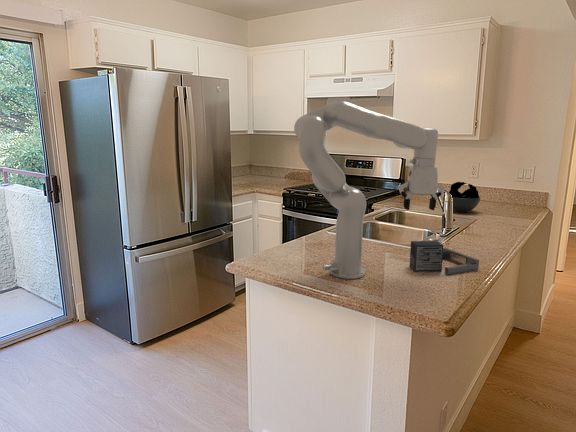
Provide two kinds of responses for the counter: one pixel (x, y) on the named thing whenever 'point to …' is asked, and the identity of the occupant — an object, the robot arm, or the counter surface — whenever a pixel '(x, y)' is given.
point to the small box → (426, 256)
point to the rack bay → (459, 262)
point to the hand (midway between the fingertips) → (419, 209)
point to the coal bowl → (464, 197)
